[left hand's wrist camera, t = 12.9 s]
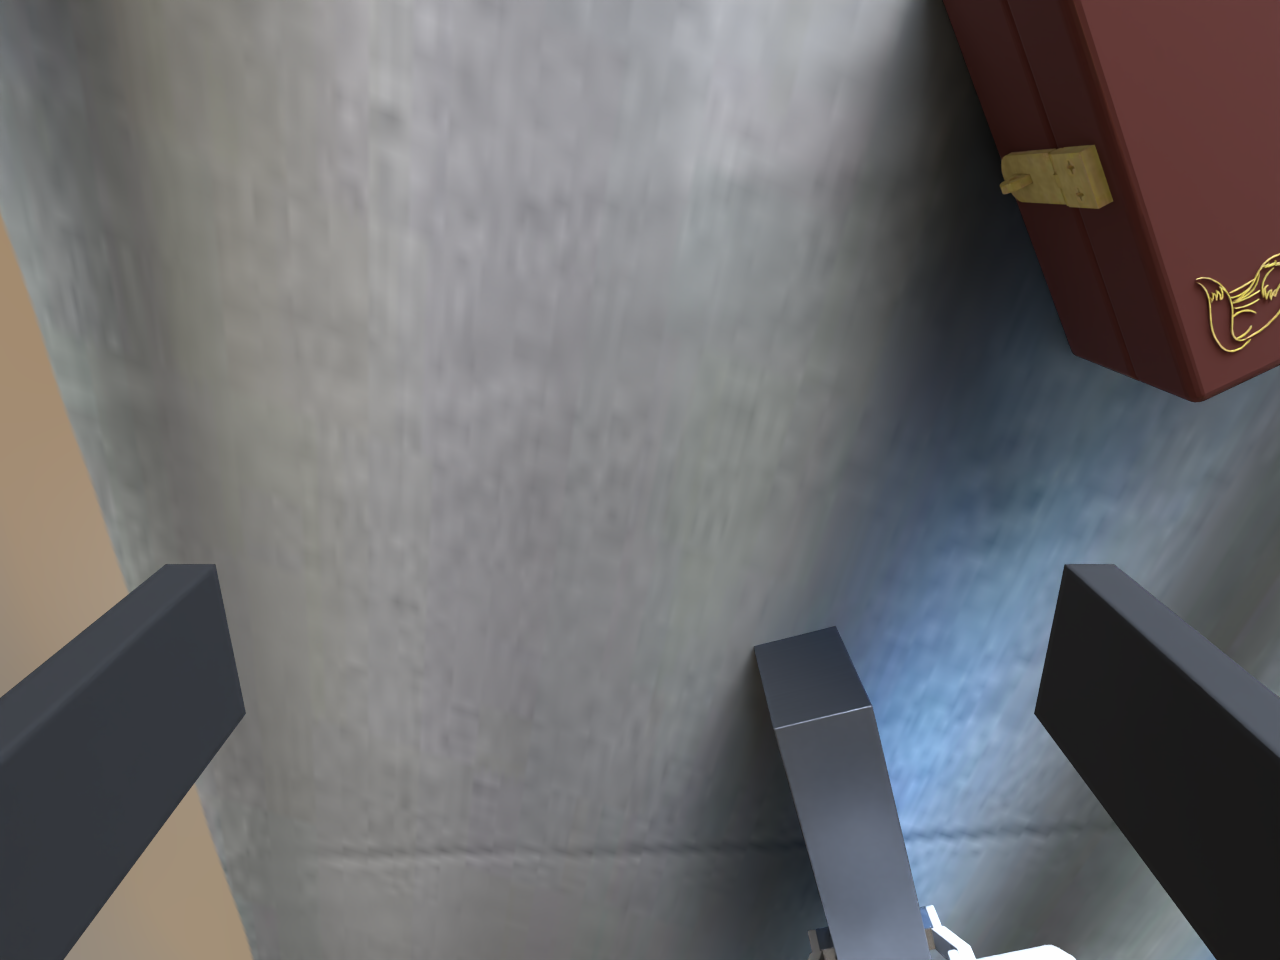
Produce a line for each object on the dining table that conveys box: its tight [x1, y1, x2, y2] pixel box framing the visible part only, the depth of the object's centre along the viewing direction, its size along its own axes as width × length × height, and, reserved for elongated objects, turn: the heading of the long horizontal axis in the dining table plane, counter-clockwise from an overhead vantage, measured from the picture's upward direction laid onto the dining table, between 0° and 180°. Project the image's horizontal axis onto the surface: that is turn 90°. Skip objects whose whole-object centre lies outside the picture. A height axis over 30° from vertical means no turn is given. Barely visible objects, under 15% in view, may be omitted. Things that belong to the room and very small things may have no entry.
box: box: [943, 0, 1280, 402], centre depth 33 cm, size 21×16×10 cm
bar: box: [754, 626, 932, 960], centre depth 48 cm, size 23×5×8 cm, turn 16°
